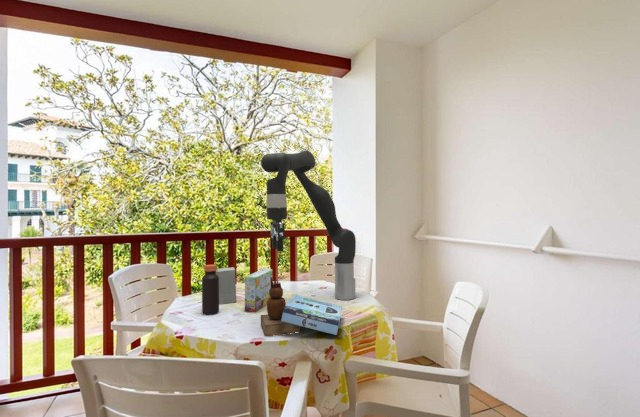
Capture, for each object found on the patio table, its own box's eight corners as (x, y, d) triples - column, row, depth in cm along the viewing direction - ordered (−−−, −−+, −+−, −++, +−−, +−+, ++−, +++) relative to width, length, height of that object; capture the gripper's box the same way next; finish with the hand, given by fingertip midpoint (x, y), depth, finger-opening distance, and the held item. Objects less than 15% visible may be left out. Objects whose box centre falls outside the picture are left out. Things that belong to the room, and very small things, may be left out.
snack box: (256, 312, 146) (256, 276, 146) (244, 312, 147) (243, 276, 147) (273, 300, 167) (273, 268, 167) (262, 299, 168) (261, 268, 168)
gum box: (342, 306, 138) (340, 320, 115) (339, 319, 138) (336, 336, 115) (295, 294, 140) (284, 306, 117) (292, 306, 140) (280, 321, 117)
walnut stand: (292, 322, 133) (292, 311, 133) (299, 332, 121) (299, 321, 121) (260, 325, 129) (260, 314, 129) (265, 336, 118) (265, 325, 118)
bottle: (212, 316, 142) (211, 267, 142) (198, 314, 144) (198, 266, 144) (222, 311, 148) (222, 264, 148) (209, 310, 150) (208, 263, 150)
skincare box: (235, 299, 168) (235, 266, 168) (236, 303, 161) (236, 269, 161) (217, 301, 165) (216, 267, 166) (217, 304, 159) (217, 270, 159)
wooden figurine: (265, 320, 122) (265, 278, 122) (267, 315, 128) (267, 275, 128) (285, 320, 122) (284, 278, 122) (286, 315, 128) (286, 274, 128)
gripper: (263, 207, 135) (264, 248, 135) (270, 206, 122) (271, 252, 122) (282, 206, 138) (283, 247, 138) (291, 206, 124) (292, 251, 124)
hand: (277, 249), depth 130 cm, fingers open, 8 cm apart
